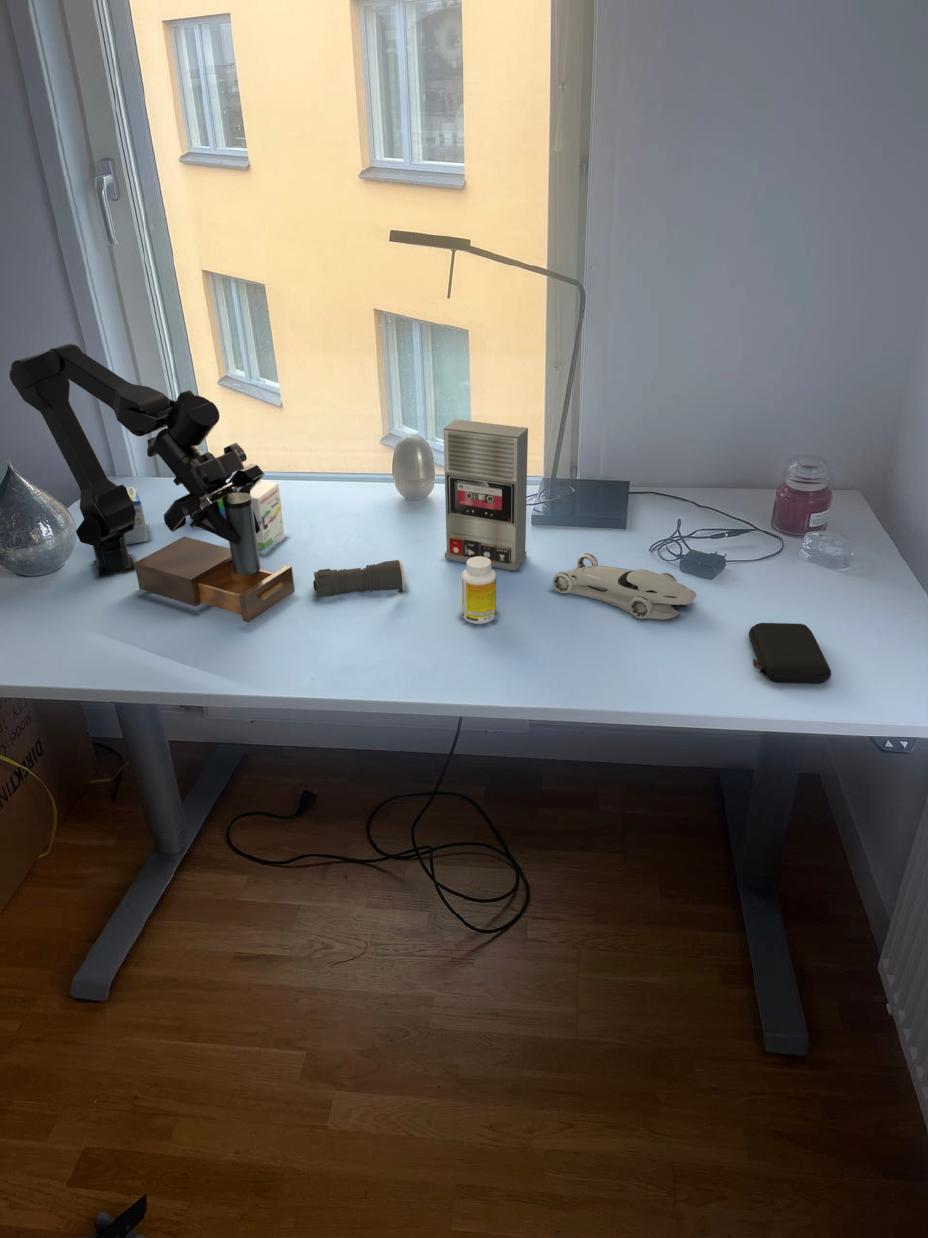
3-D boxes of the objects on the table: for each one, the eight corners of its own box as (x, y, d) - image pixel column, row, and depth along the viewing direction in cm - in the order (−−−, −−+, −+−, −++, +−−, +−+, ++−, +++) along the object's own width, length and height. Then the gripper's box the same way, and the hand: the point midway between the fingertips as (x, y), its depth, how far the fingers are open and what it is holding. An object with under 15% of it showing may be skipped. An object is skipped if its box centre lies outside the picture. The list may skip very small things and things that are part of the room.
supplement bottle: (502, 620, 153) (502, 564, 148) (471, 628, 151) (470, 572, 146) (486, 605, 157) (486, 551, 152) (456, 613, 155) (455, 558, 150)
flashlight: (316, 606, 158) (313, 578, 155) (313, 591, 163) (310, 564, 160) (405, 596, 161) (404, 568, 158) (401, 581, 165) (399, 554, 163)
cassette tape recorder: (444, 560, 172) (440, 429, 160) (457, 546, 177) (454, 418, 164) (515, 572, 168) (517, 439, 155) (526, 558, 173) (529, 427, 160)
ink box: (265, 556, 175) (257, 498, 169) (242, 553, 176) (233, 495, 170) (286, 537, 182) (279, 480, 176) (263, 534, 183) (255, 478, 177)
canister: (227, 571, 154) (215, 500, 147) (245, 560, 157) (235, 490, 151) (248, 577, 152) (238, 505, 145) (267, 566, 155) (257, 495, 149)
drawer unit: (141, 596, 162) (133, 562, 159) (190, 568, 171) (184, 536, 168) (197, 613, 157) (190, 579, 153) (244, 583, 166) (239, 550, 162)
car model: (578, 566, 170) (579, 541, 167) (705, 602, 157) (708, 576, 155) (546, 590, 162) (547, 564, 159) (677, 630, 149) (680, 603, 147)
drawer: (189, 609, 157) (183, 578, 154) (237, 579, 166) (232, 550, 163) (252, 629, 151) (247, 597, 148) (298, 597, 160) (295, 567, 157)
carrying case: (738, 634, 148) (757, 687, 135) (741, 617, 147) (760, 669, 134) (807, 636, 147) (832, 689, 135) (810, 619, 146) (836, 671, 133)
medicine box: (121, 529, 186) (112, 489, 182) (144, 525, 188) (136, 485, 183) (125, 545, 180) (116, 503, 176) (149, 541, 181) (141, 499, 177)
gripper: (164, 451, 137) (231, 534, 138) (248, 415, 151) (309, 491, 152) (135, 491, 145) (200, 570, 146) (218, 453, 159) (276, 525, 160)
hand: (248, 537), depth 151 cm, fingers closed on canister, 4 cm apart
